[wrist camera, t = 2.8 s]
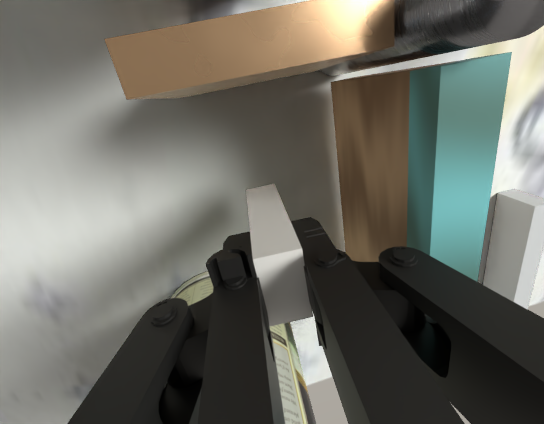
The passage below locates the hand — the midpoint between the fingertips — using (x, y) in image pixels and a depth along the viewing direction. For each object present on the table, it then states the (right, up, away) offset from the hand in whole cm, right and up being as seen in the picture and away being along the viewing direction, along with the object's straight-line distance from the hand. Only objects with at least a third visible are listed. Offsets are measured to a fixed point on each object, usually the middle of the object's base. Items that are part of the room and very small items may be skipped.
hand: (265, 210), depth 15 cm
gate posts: (+5, +11, +2) cm, 12 cm away
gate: (+6, +1, +4) cm, 7 cm away
